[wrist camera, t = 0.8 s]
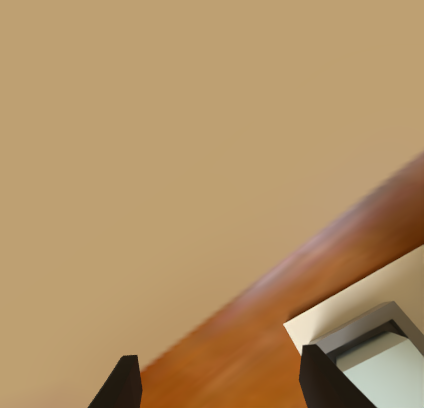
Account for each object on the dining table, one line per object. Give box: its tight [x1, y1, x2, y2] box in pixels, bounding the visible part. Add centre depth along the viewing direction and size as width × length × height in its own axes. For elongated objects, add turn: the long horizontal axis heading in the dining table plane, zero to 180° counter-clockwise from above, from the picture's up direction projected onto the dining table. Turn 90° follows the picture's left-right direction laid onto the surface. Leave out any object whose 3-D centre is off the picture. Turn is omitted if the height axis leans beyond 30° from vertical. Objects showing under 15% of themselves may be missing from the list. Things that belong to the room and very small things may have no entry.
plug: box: [336, 331, 424, 408], centre depth 13 cm, size 5×4×6 cm
